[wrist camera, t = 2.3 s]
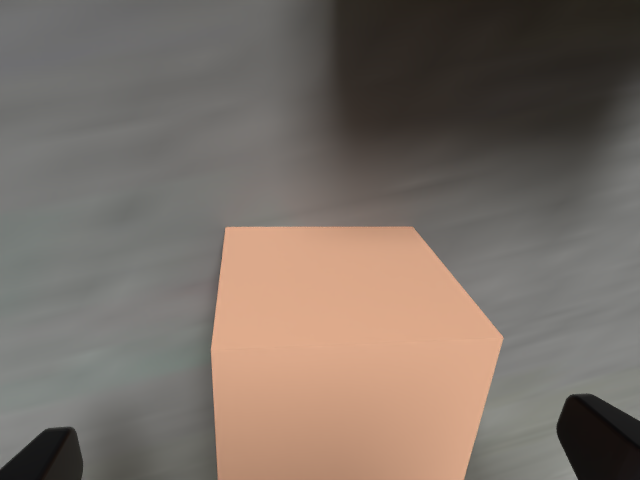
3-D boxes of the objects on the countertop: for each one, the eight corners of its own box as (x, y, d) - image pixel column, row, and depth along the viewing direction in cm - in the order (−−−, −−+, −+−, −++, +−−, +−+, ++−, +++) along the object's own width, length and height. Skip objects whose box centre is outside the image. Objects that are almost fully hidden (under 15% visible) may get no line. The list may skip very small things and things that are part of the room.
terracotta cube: (230, 377, 12) (221, 546, 8) (225, 225, 10) (210, 350, 6) (389, 368, 13) (452, 521, 9) (411, 225, 11) (503, 337, 7)
